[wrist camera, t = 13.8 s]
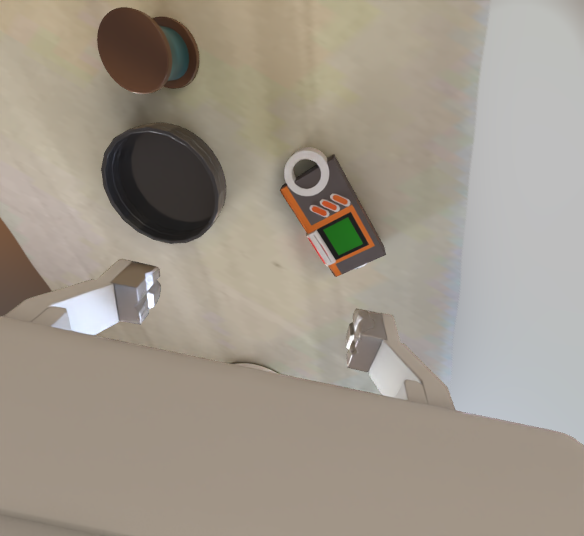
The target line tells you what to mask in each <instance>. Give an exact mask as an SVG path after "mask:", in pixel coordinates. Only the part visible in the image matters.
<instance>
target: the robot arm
mask: <svg viewBox="0 0 584 536" xmlns="http://www.w3.org/2000/svg"><path fill="white" fill-rule="evenodd" d="M159 277H160V269H159V268H158V267H156V266H152V265H147V264H143V263H139V262H133V261H129V260H125V259H119V260H118V261H117V262H116V263H114V264H113V265H112V266H111V267H110V268H109V269H108V270H107V271H105V272H104V273H103V274H102V275H101V276H100V277H99V278H98V279H97V280H94V279H91V280H88V281H84V282H81V283H78V284H75V285H71V286H68V287H65V288H61V289H58V290H55V291H51V292H48V293H45V294H42V295H39V296H35V297H32V298H28V299H26V300H24V301H23V302H22V303H20V304H19V305H18V306H16V307H15V308H14V309H12V310H11V311H10V312H8V313H7V314H6V315H4V316H0V536H584V445H583V444H581V443H580V442H579V441H577V440H576V439H574V438H573V437H571V436H569V435H567V434H564V433H561V432H558V431H553V430H549V429H544V428H539V427H534V426H529V425H524V424H519V423H514V422H509V421H505V420H500V419H495V418H490V417H485V416H480V415H476V414H471V413H466V412H461V411H456V410H455V408H454V405H453V402H452V399H451V396H450V393H449V390H448V388H447V386H446V385H445V384H444V383H443V382H442V381H441V380H440V379H439V378H438V377H437V376H436V375H435V374H434V373H433V372H432V371H431V370H430V369H429V368H428V367H427V366H426V365H425V364H424V363H423V362H422V361H421V360H420V359H419V358H418V357H417V356H416V355H415V354H414V353H413V352H412V351H411V350H410V349H409V348H408V347H407V346H406V345H405V344H402V343H400V339H399V335H398V331H397V327H396V323H395V319H394V316H393V315H390V314H384V313H376V312H371V311H367V310H362V309H357V308H356V309H355V311H354V314H353V322H352V323H351V324H350V325H349V328H348V331H347V336H346V347H347V348H348V352H347V368H351V369H356V370H360V371H364V372H368V374H369V376H370V377H371V379H372V381H373V382H374V384H375V385H376V387H377V388H378V390H379V391H380V393H381V394H382V395H379V394H374V393H369V392H365V391H360V390H355V389H350V388H345V387H340V386H336V385H331V384H326V383H321V382H316V381H311V380H307V379H302V378H297V377H292V376H287V375H283V374H278V373H276V372H274V371H272V370H270V369H268V368H265V367H263V366H259V365H255V364H248V363H237V364H229V363H224V362H220V361H215V360H210V359H205V358H200V357H196V356H191V355H186V354H181V353H176V352H172V351H167V350H162V349H157V348H152V347H147V346H143V345H138V344H133V343H128V342H123V341H119V340H114V339H109V338H104V337H99V336H94V335H96V334H98V333H99V332H101V331H103V330H105V329H107V328H109V327H110V326H112V325H114V324H116V323H118V322H119V321H123V322H129V323H134V324H140V325H141V323H142V322H143V321H144V319H145V318H146V317H147V315H148V314H149V308H152V307H154V306H155V305H156V303H157V302H158V299H159V297H160V292H161V285H160V283H159V282H158V281H157V279H158V278H159Z"/></svg>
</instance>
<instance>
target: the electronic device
mask: <svg viewBox="0 0 584 536" xmlns="http://www.w3.org/2000/svg"><path fill="white" fill-rule="evenodd" d="M303 159H310V160H312V161H314V162H316V163H317V165H316V166H314V167H312V168H311V169H309V170H307V171H306V172H304V173H302V174H301V175H299V176H297V177H296V176H295V174H294V165H295V164H296V163H297V162H298V161H300V160H303ZM284 177H285V181H286V184H284V185H283V186H282V187H281V189H280V191H281V193H282V195H283V196H284V198H285V199H286V201H287V202H288V204H289V206H290V207H291V209H292V210H293V212H294V213H295V215H296V217H297V218H298V220H299V221H300V223H301V224H302V226H303V227H304V229H305V231H306V232H307V234H306V236H307V237H308V239H309V241H310V242H311V244H312V245H313V247H314V248H315V250H316V251H317V253H318V255H319V256H320V258H321V259H322V261H323V262H324V264H325V265H326V266H328V267H329V268H330V270H331V271H332V273H333V274H334V276H336V277H337V276H339V275H341V274H344V273H346V272H348V271H350V270H353V269H358V268H360V267H362V266H365V265H366V264H367V263H368V262H371V261H373V260H375V259H377V258H380V257H382V256H384V255H386V253H385V248H384V245H383V243H382V242H381V240H380V238H379V236H378V234H377V232H376V231H375V229H374V227H373V225H372V223H371V221H370V220H369V218H368V216H367V214H366V212H365V210H364V208H363V207H362V205H361V203H360V201H359V199H358V197H357V196H356V194H355V192H354V190H353V188H352V186H351V184H350V183H349V181H348V179H347V177H346V175H345V173H344V172H343V170H342V168H341V166H340V164H339V162H338V161H337V159H336V157H335V155H332V156H331V157H329V158H327V157H326V156H325V155H324V154H323V153H322V152H321V151H319V150H318V149H315V148H311V147H305V148H301V149H299V150H297V151H296V152H294V153H293V154H292V156H291V157H290V158H289V160H288V161H287V163H286V166H285V170H284Z"/></svg>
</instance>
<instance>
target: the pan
mask: <svg viewBox="0 0 584 536" xmlns="http://www.w3.org/2000/svg"><path fill="white" fill-rule="evenodd" d="M101 171H102V178H103V185H104V189H105V191H106V193H107V196H108V198H109V200H110V203H111V205H112V206H113V207H114V209H115V210H116V211H117V212H118V214H119V215H120V216H121V218H122V219H123V220H124V221H125V222H126V223H128V224H129V225H130V226H131V227H132V228H134V229H135V230H136V231H137V232H139V233H141V234H143V235H145V236H147V237H149V238H151V239H153V240H156V241H161V242H166V243H170V244H173V243H187V242H189V241H192V240H194V239H197V238H199V237H201V236H202V235H203V234H204V233H205V232H206V231H207V230H208V229H209V228H210V227H211V226H212V225H213V223H214V222H215V221H216V219H217V218H218V217H219V214H220V213H221V211H222V209H223V206H224V203H225V199H226V180H225V176H224V172H223V170H222V167H221V165H220V163H219V161H218V159H217V157H216V156H215V154H214V153H213V151H212V150H211V149H210V148H209V146H208V145H207V144H206V143H205V142H204V141H203V140H202V139H200V138H199V137H198V136H196V135H195V134H194V133H192V132H190V131H189V130H187V129H185V128H182V127H180V126H177V125H174V124H169V123H150V124H144V125H140V126H137V127H134V128H132V129H129V130H127V131H125V132H124V133H122V134H120V135H119V136H117V137H115V138H114V139H113V141H112V142H111V144H110V145H109V146H108V148H107V149H106V151H105V153H104V158H103V163H102V168H101Z"/></svg>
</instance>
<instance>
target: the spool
mask: <svg viewBox="0 0 584 536" xmlns="http://www.w3.org/2000/svg"><path fill="white" fill-rule="evenodd" d="M97 41H98V50H99V54H100V57H101V60H102V62H103V64H104V66H105V68H106V70H107V72H108V73H109V74H110V76H111V77H112V78H113V79H114V80H115V81H116V82H117V83H118V84H119V85H120V86H122V87H123V88H125V89H126V90H128V91H131V92H133V93H137V94H148V93H153V92H156V91H158V90H160V89H161V88H162V87H163V86H164V87H167V88H181V87H184V86H186V85H188V84H189V83H191V82H192V81H193V79H194V78H195V76H196V74H197V72H198V68H199V51H198V47H197V44H196V42H195V40H194V38H193V36H192V34H191V33H190V32H189V30H188V29H187V28H186V27H185V26H184V25H183V24H181V23H180V22H178V21H176V20H174V19H171V18H168V17H155V18H153V19H152V18H151V17H150V16H148V15H147V14H145V13H143V12H141V11H139V10H136V9H132V8H126V7H121V8H116V9H114V10H112V11H110V12H109V13H108V14H107V15H106V16H105V17H104V18H103V20H102V21H101V23H100V26H99V29H98V38H97Z"/></svg>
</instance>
